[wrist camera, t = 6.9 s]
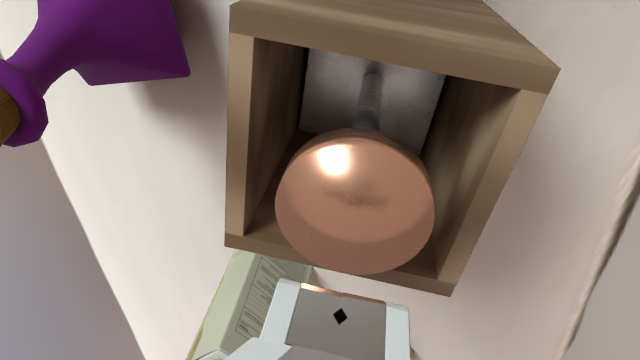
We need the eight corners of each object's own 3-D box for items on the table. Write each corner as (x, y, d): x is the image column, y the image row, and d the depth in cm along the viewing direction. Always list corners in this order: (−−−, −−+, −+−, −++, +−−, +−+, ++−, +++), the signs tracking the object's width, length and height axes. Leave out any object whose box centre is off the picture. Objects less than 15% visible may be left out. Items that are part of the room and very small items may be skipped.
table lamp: (317, -3, 22) (236, 72, 11) (460, 24, 22) (530, 131, 10) (300, 126, 26) (229, 275, 15) (419, 150, 26) (437, 322, 15)
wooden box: (310, -34, 24) (229, 5, 12) (478, -3, 23) (560, 68, 12) (292, 118, 29) (224, 246, 18) (428, 146, 29) (450, 297, 17)
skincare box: (235, 244, 37) (175, 366, 27) (267, 223, 35) (214, 345, 25) (284, 286, 39) (244, 414, 29) (316, 268, 37) (286, 398, 27)
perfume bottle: (210, 62, 28) (-2, 218, 13) (116, 71, 30) (-170, 220, 15) (177, -62, 24) (-178, -43, 9) (71, -44, 26) (-380, -2, 11)
